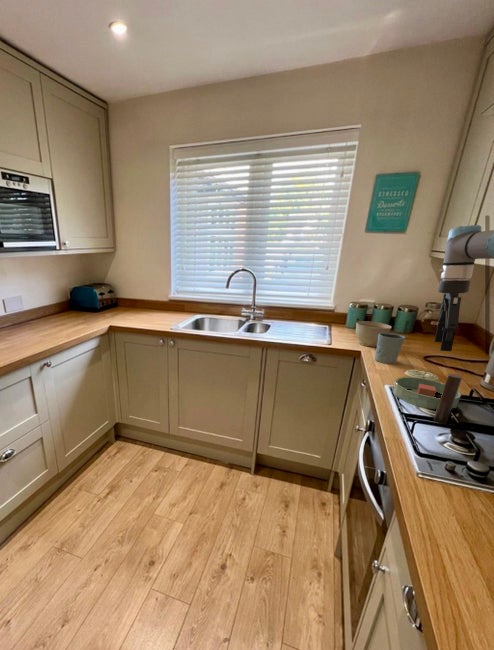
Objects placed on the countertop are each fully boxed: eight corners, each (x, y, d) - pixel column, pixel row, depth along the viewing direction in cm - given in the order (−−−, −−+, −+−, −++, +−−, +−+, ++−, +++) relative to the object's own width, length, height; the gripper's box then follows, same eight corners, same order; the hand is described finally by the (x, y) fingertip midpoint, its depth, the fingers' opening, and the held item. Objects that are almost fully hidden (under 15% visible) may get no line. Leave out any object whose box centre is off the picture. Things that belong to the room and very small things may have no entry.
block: (431, 398, 112) (434, 386, 111) (432, 403, 109) (436, 391, 107) (415, 395, 114) (419, 383, 113) (416, 399, 111) (420, 387, 109)
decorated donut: (417, 375, 134) (420, 367, 132) (443, 386, 124) (446, 377, 123) (397, 378, 131) (399, 369, 129) (422, 388, 121) (425, 379, 120)
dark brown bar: (445, 421, 98) (461, 375, 93) (446, 426, 96) (463, 378, 90) (432, 418, 100) (447, 372, 94) (433, 423, 97) (448, 376, 92)
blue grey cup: (369, 360, 151) (375, 334, 147) (376, 355, 158) (382, 331, 153) (394, 366, 144) (401, 339, 140) (400, 360, 151) (407, 335, 147)
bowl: (452, 395, 116) (456, 384, 114) (460, 417, 101) (465, 404, 100) (392, 384, 125) (395, 373, 123) (392, 402, 110) (395, 390, 108)
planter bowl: (386, 350, 165) (391, 329, 161) (350, 345, 173) (354, 325, 169) (386, 343, 178) (391, 323, 174) (354, 338, 186) (358, 319, 182)
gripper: (435, 278, 115) (424, 338, 121) (446, 281, 94) (433, 353, 100) (462, 277, 111) (450, 339, 117) (480, 281, 90) (464, 356, 97)
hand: (442, 346), depth 109 cm, fingers open, 13 cm apart
